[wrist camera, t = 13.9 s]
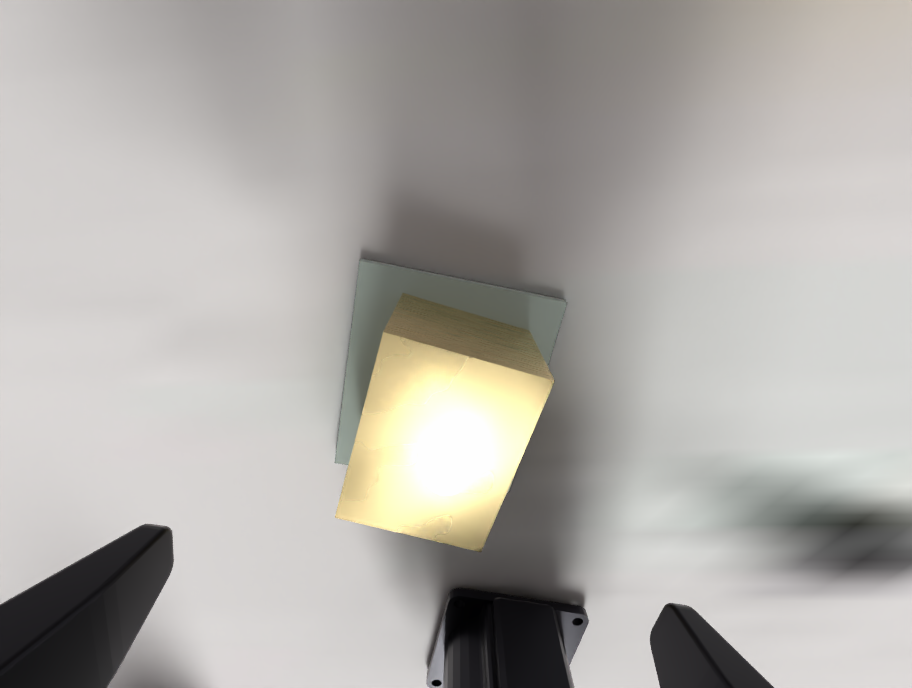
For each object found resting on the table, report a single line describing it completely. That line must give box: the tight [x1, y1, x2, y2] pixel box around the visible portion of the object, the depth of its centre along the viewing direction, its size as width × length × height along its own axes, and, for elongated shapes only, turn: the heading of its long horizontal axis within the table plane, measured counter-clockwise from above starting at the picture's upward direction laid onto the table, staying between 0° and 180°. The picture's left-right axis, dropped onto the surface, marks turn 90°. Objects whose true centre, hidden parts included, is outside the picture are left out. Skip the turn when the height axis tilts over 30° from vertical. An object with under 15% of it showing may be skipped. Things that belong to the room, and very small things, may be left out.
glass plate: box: [335, 259, 567, 492], centre depth 16 cm, size 8×7×1 cm
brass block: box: [335, 293, 555, 552], centre depth 13 cm, size 6×4×4 cm
